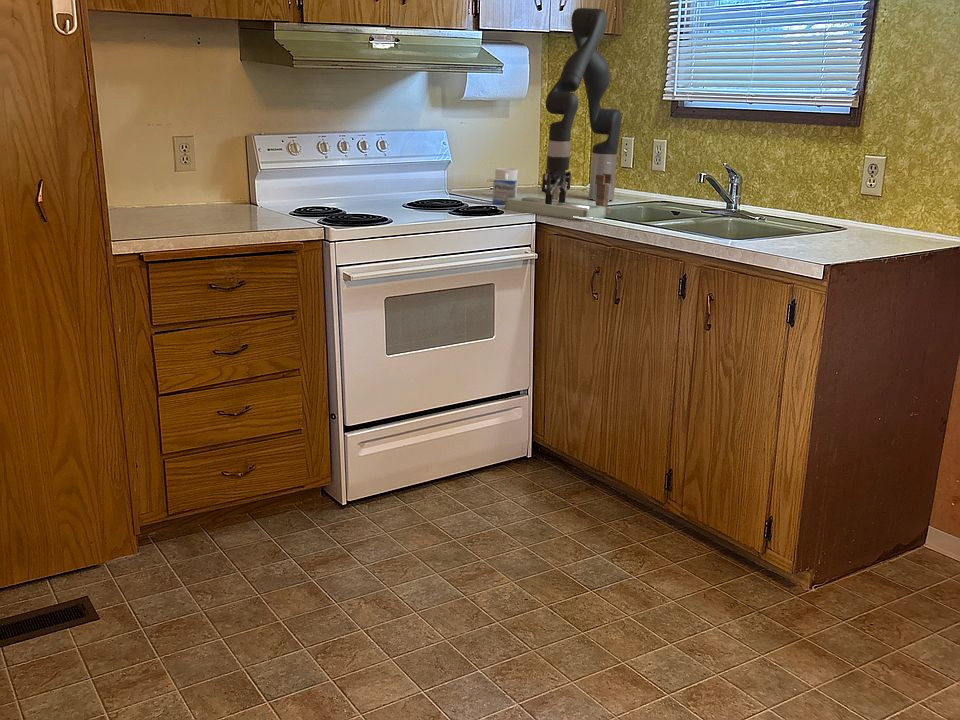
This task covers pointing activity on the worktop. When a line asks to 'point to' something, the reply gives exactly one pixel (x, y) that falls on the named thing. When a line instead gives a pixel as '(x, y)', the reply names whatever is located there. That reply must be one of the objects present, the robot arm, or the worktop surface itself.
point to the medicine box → (503, 190)
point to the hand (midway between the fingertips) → (555, 204)
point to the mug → (506, 174)
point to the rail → (556, 203)
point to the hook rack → (601, 190)
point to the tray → (553, 208)
